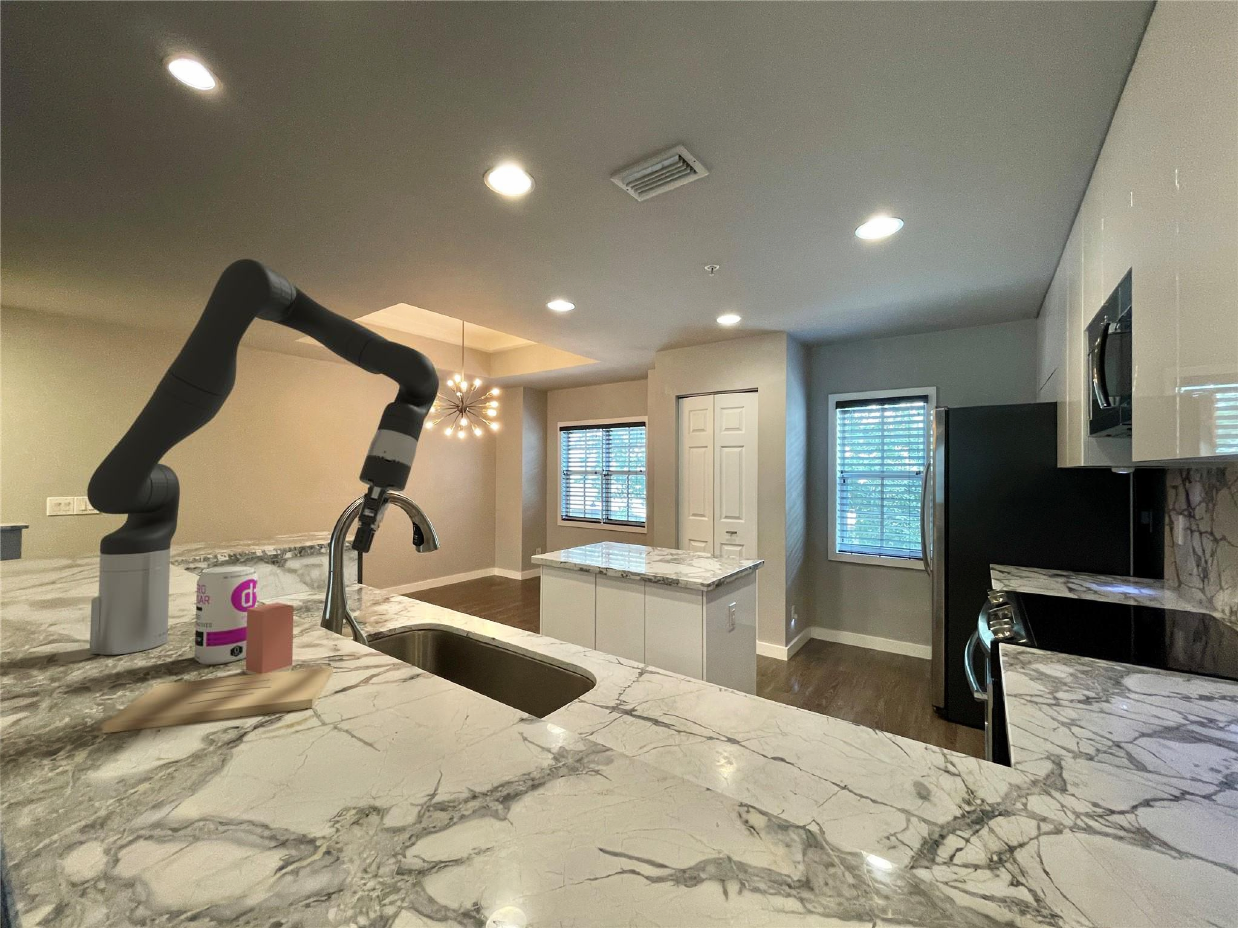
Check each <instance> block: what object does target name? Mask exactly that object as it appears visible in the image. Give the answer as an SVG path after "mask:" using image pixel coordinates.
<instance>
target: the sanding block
mask: <svg viewBox="0 0 1238 928" xmlns="http://www.w3.org/2000/svg"><path fill="white" fill-rule="evenodd" d="M294 609H295V608H294V605H292V604H286V603H281V602H273V603H268V604H267V603H266V604H264V605H259V606H258V605H257V607H253V608H248V609H247V636H246V657H245V669H244V673H245V674H247V675H255V674H265V673H275V672H285V671H289V670H291V669H293V667H294V665H293V654H294V653H293V649H294V645H293V644H294Z"/></svg>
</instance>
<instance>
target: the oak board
mask: <svg viewBox="0 0 1238 928" xmlns="http://www.w3.org/2000/svg"><path fill="white" fill-rule="evenodd" d="M333 671H334V667H333V666H326V667H315V668H306V669H298V670H295V669H294V670H285V671H282V672H275V673H265V674H255V675H250V674H247V675H237V676H234V675H233V676H225V677H217V678H207V679H196V680H195V679H194V680H187V681H186V680H185V681H184V680H183V681H177V682H166V683H158V684H156V686H154V687H152V688H151V689H150V690H148V691H146V692H145V693H144V694H142V695H141V696H139V697H138V698H136V699H135V700H134V701H132V702H131V703H130V704H128V705H126V706H125V707H123V708H122V709H121V710H120V711H118V712H117V713H115V714H113V715H112V716H111V717H109V718H108V719H106V720H105V721H104V722H102V727H101V728H102V730H101V731H102V732H101V733H102V734H107V733H116V732H126V731H133V730H141V729H142V730H143V729H150V728H157V727H159V728H160V727H165V726H174V725H182V724H190V723H198V722H208V721H216V720H224V719H232V718H238V717H239V718H240V716H241V717H247V716H250V717H251V716H256V715H257V716H258V715H264V714H274V713H282V712H289V711H297V710H298V711H299V710H306V708H307V709H313V708H314V706H315V704H316V702H317V701H318V699H319V698H320V696H321V695H322V692H323V691H324V690H325V688H326V686H327V685H328V683H329V681H330V680H331V678H332V677H333V674H334V672H333Z"/></svg>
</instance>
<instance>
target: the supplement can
mask: <svg viewBox="0 0 1238 928" xmlns="http://www.w3.org/2000/svg"><path fill="white" fill-rule="evenodd" d="M258 577H259V575H258V573H257V571H256V569H254V565H246V564H245V565H241V564H239V565H238V564H237V565H224V566H217V567H211V568H206V569H203V570H202V571H201V574H200V575H199V577H198V578H197V580H196V600H195V633H194V636H195V637H194V659H195V661H197V662H199V664H201V665H206V666H207V665H221V664H228V663H232V662H236V661H239V660H243V659H246V636H247V609H248V608H253V607H258Z"/></svg>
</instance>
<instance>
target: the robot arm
mask: <svg viewBox="0 0 1238 928" xmlns="http://www.w3.org/2000/svg"><path fill="white" fill-rule="evenodd" d="M255 319H259V320H262V321H268V322H272V323H274V324H278V325H281V326H284V327H287V328H290V329H292V330H295V331H297V332H300V333H302V334H304V335H306V336H308V337H310V338H311V339H313V340H315V341H316V342H318V343H320V344H321V345H323V346H324V348H327V349H328V350H330V351H331V352H332V353H334V354H335V355H337V356H338V357H340V358H341V359H344V360H345V361H347V362H349V363H350V364H353V365H354V366H356V367H358V368H360V369H361V370H364V371H366V372H368V373H370V374H373V375H383V376H385V377H387V378H389V379H391V380H393V381H394V382H395V383H397V384H398V392H397V394H396V396H395V398H394V401H393V402H389V403H388V404H386V406H385V407H384V410H383V412H382V415H381V417H380V421H379V424H378V425H377V429H376V431H375V433H374V436H373V437H372V440H371V442H370V444H369V447H368V450H367V454H366V456H365V460H364V462H363V465H362V468H361V471H360V474H359V477H358V478H359V479H358V480H359V481H360V482H362V483H364V484H366V485H368V487H367V492H364V495H363V498H362V501H361V502H362V504H361V506H360V509H359V513H358V517H357V528H356V532H355V535H354V538H353V541H352V543H351V545H350V546H351V549H352V551H356V552H359V553H362V554H368V553H369V552H370V550H371V548H372V543H373V541H374V538H375V535H376V533H377V532H378V531H379V528H380V524H381V523H383V522H384V521H383V520H384V518H385V514H386V511H387V510H388V508H389V505H390V502H391V500H390V498H389V497H387V496H388V492H390V491H393V492H403V491H405V489H406V486H407V484H408V480H409V477H410V473H411V470H412V467H413V463H414V460H415V457H416V454H417V448H418V443H419V441H420V438H421V437H420V436H421V433H422V430H423V427H424V422H425V419H426V418H427V416H428V414H429V413H430V411H431V409H432V406H433V405H434V403H435V400H436V398H437V396H438V392H439V388H440V379H439V376H438V374H437V371H436V369H435V366H434V364H433V362H432V360H430V358H429V357H428V356H426V355H425V354H424V353H422V352H421V351H419V350H417V349H415V348H413V347H410V346H407V345H404V344H401V343H398V342H395V341H391V340H388V339H387V338H385V337H384V336H382V335H380V334H378V333H377V332H374V331H373V330H372V329H369V328H367V327H366V326H363V325H362V324H360V323H359V322H356V321H354V320H352V319H349V318H348V317H345V316H342V315H340V314H338V313H336V312H334V311H332V310H331V309H328V308H327V307H325V306H323V305H321V304H320V303H319V302H317V301H315V300H314V299H312V298H311V297H310V296H309V295H307V294H306V293H305V292H304V291H302V290H301V289H300V288H298V287H297V286H296V285H295V284H293V283H292V282H291V281H290V280H289V279H288V278H287V277H285V276H284V274H281V273H279V272H278V271H276V270H274V269H272V268H271V267H269V266H267V265H265V264H263V263H261V262H259V261H258V260H255V259H252V258H242V259H237V260H236V261H234V262H232V263H230V264H229V265H228V266H227V267H226V268H225V269H224V270H223V271H222V273H221V275H220V276H219V278H218V280H217V281H216V284H215V286H214V288H213V289H212V292H211V295H210V297H209V299H208V301H207V302H206V304H205V307H204V309H203V312H202V314H201V315H200V317H199V320H198V321H197V323H196V325H195V327H194V328H193V330H192V332H191V333H190V335H189V336H188V338H187V340H186V341H185V343H184V345H183V347H182V348H181V350H180V352H179V353H178V355H177V356H176V357H175V359H174V360H173V361H172V363H171V364H170V365H169V367H168V368H167V370H166V372H165V373H164V375H163V376H162V378H161V380H160V381H159V383H158V385H157V386H156V388H155V389H154V391H153V393H152V395H151V396H150V398H149V400H148V401H147V403H146V404H145V405H144V407H143V408H142V410H141V412H140V413H139V414H138V416H137V417H136V418H135V420H134V422H133V423H132V425H131V426H130V427H129V429H128V430H127V432H126V433H125V434H124V435H123V437H122V438H121V439H120V440H119V441H118V443H117V444H115V446H114V447H113V448H112V449H111V451H110V452H109V453H108V454H107V455H106V457H105V458H104V459H103V460H102V462H100V464H99V465H98V466H97V468H96V469H95V471H94V472H93V474H92V475H91V477H90V480H89V481H88V485H87V489H86V490H87V491H86V495H87V497H86V498H87V499H88V503H89V504H90V506H91V508H93V509H94V510H95V511H97V512H99V513H102V514H108V515H127V517H126V521H125V522H124V523H123V525H122V526H121V527H119V528H117V529H116V530H115V531H113V532H110V533H108V534H106V535H105V536H103V537H102V538H101V539H100V545H99V567H98V569H99V572H98V596H96V597H93V598H92V599H91V603H90V604H91V605H90V630H89V631H90V634H89V635H90V636H89V655H95V654H96V655H103V656H104V655H105V656H109V655H111V656H112V655H122V654H130V653H137V652H141V651H147V650H150V649H151V650H152V649H153V648H157V647H160V646H163V645H164V644H165V643H167V642H168V641H169V640H168V638H169V637H168V633H169V608H170V607H169V606H170V573H171V572H170V570H171V569H170V568H171V567H170V566H171V565H170V564H171V545H172V539H173V537H174V536H175V533H176V532H177V527H178V517H179V508H180V494H181V492H180V491H181V490H180V489H181V488H180V482H179V478H178V476H177V474H176V471H174V470H173V469H172V468H171V467H170V466H168V465H166V464H163V463H159V462H160V461H161V460H162V458H163V457H164V456H165V455H166V454H167V453H168V452H169V451H170V450H172V448H173V447H175V446H176V445H178V444H179V443H181V442H182V441H184V439H185V440H186V438H188V437H189V436H191V435H192V434H194V433H195V432H197V431H198V430H200V429H201V428H203V427H205V426H206V425H207V424H208V423H209V422H211V421H212V420H213V419H214V418H215V417H216V416H217V414H219V412H220V410H221V408H222V407H223V405H224V404H225V403H226V401H227V399H228V398H229V396H230V394H231V393H232V391H233V389H234V386H235V383H236V378H237V366H238V365H237V359H238V358H237V357H238V356H237V355H238V350H239V345H240V343H241V340H242V339H243V337H244V334H246V331H247V330H248V328H249V327H250V325H251V324H252V323H253V321H254V320H255Z"/></svg>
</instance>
